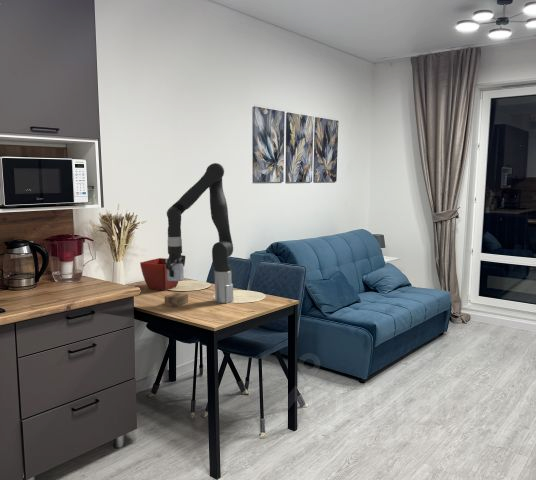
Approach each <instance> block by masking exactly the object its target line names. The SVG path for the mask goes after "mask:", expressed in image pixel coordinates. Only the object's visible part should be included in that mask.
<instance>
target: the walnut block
mask: <svg viewBox="0 0 536 480" xmlns="http://www.w3.org/2000/svg"><path fill="white" fill-rule="evenodd" d="M163 298H164V305H165V306H168V305H169V306H170V307H178V308H179V307H181V306H183V305H187V304H189V294H188V293H179V292H173V293H170V294H167V295H165V296H164V297H163Z"/></svg>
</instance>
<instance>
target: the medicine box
mask: <svg viewBox="0 0 536 480" xmlns="http://www.w3.org/2000/svg"><path fill="white" fill-rule="evenodd" d="M184 267H185V266H183V264H175V266H174V269H173V270H174V277H170V275H169V270H168V269H167V280H168V281H178V282H182V281H184V280H185V272H184V271H185V270H184V269H185V268H184ZM171 268H172V266H171Z"/></svg>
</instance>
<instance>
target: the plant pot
mask: <svg viewBox="0 0 536 480" xmlns="http://www.w3.org/2000/svg"><path fill="white" fill-rule="evenodd" d="M165 259H166V258H163V257H162V258H161V257H158V258H153V259H149V260H146V261H141V262H139V265H140V269H141V273H142V276H143V280H144V281H145V284H146V287H147V289H149V290H157V291H168V290H170V288H171V289H174V288H176V286H177V287H178V284H179V281H168V280H167V269H166V265H165ZM171 264H172V263H171ZM182 264H183V262H182ZM173 287H174V288H173Z"/></svg>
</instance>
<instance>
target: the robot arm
mask: <svg viewBox="0 0 536 480" xmlns="http://www.w3.org/2000/svg"><path fill="white" fill-rule="evenodd" d="M224 174H225V168H224V167H223V165H222V164H220V163H217V162H215V163H211V164H209V165H208V166H207V168H206V170H205V173H204V174H203V175H202V176H201V177H200V178H199V179H198V180H197V182H195V183H194V184H193V185H192V186H191V187H190V188H189V189H188V190H187V191H185V193H184V194H182V196H181V197H180V198H179V199H177V201H176V202H175V203H173V204H172V205H171V206H170V207H169V208H168V210H167V211H166V216H167V222H168V223H167V224H168V225H167V226H168V227H167V254H168V258H165V265H166V269H168V270H169V275H170V277H174V270H173V269H174V266H175V264H182V262H183V266H184V267H185V264H186V255H182V254H183V239H182V228H181V227H182V214H184V212H185V211H187V210H188V209H190V208H191V207H192V206H193V205H194V204H195V203H196V202H197V201H198V200H199V198H200V197H201V196H202V195H203V194H204V193H205V192H206V191H207V190H209V209H210V216H211V217H210V218H211V221H212V223H213V225H214V226H215V228H216V230H217V233H218V242H215V243H214V244H213V245H212V249H211V258H212V266H213V268H214V269H213V270H214V301H215V303H218V304H228V303H231V302H234V284H233V283H232V266H231V264H229V263H228V258H229V257H231V256H232V255H233V252H234V244H233V240H232V235H231V229H230V228H231V227H230V221H229V211H228V209H229V208H228V204H227V199H226V196H225V192H224V188H223V187H224V186H223V177H224ZM171 263H172V264H171ZM171 266H172V268H171ZM230 301H231V302H230Z"/></svg>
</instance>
